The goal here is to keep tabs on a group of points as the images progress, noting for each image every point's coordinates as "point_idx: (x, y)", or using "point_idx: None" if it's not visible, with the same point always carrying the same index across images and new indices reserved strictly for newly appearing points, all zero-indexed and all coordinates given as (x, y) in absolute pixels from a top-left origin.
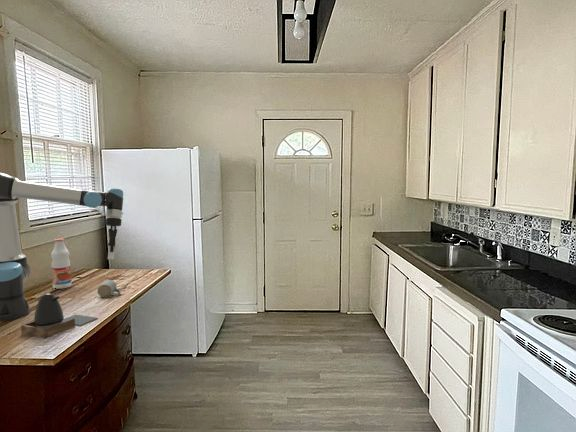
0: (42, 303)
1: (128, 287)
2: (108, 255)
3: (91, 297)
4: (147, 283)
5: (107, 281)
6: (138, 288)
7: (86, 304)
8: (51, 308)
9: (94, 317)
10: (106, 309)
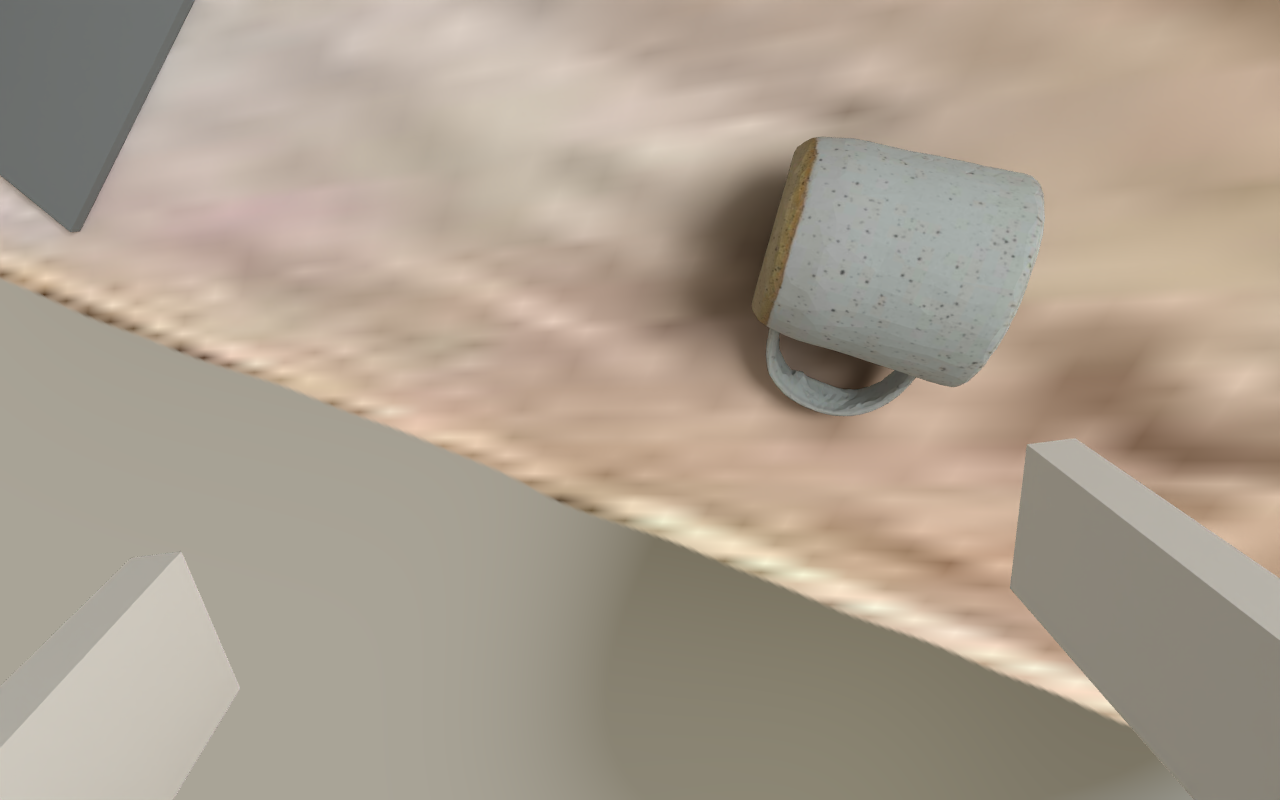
0: None
1: None
2: (60, 633)
3: (865, 52)
4: None
5: (930, 285)
6: None
7: (561, 40)
8: None
9: (78, 202)
10: (323, 285)
